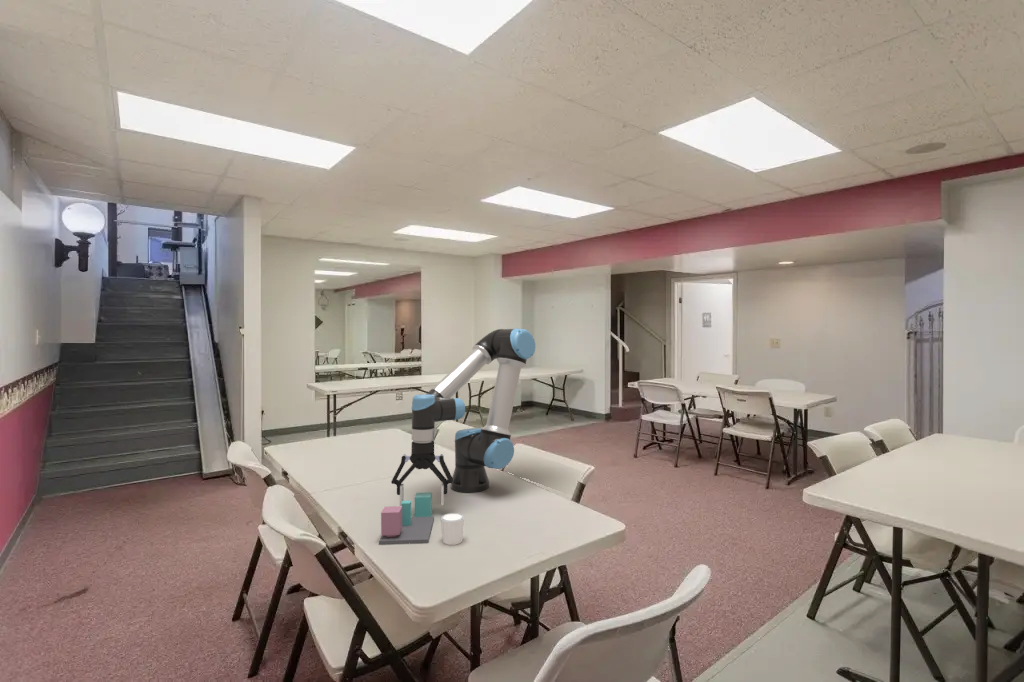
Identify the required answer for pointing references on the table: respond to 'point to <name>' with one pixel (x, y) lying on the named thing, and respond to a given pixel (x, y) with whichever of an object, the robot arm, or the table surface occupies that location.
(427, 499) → the teal rectangular prism
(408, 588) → the table surface
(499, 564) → the table surface
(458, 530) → the white cup
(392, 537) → the stand
